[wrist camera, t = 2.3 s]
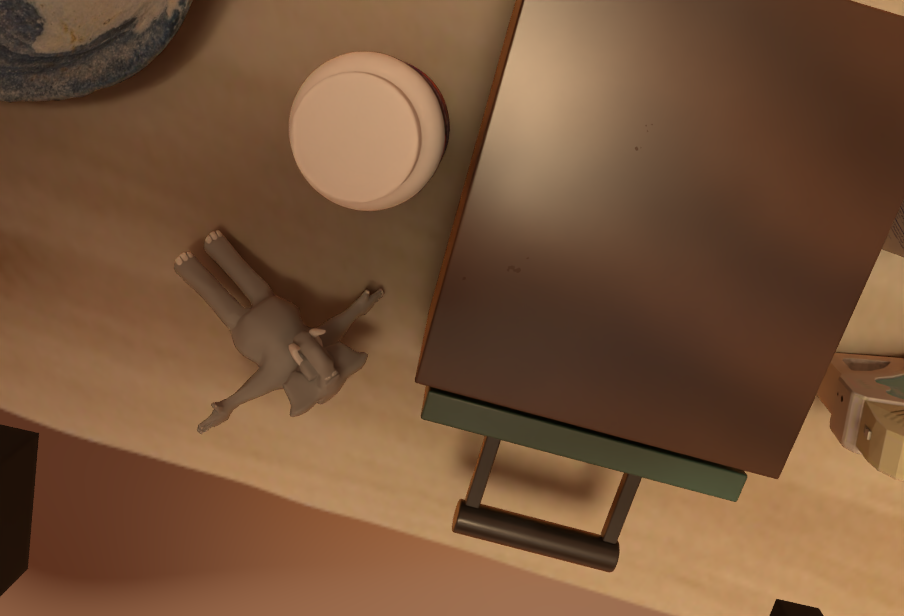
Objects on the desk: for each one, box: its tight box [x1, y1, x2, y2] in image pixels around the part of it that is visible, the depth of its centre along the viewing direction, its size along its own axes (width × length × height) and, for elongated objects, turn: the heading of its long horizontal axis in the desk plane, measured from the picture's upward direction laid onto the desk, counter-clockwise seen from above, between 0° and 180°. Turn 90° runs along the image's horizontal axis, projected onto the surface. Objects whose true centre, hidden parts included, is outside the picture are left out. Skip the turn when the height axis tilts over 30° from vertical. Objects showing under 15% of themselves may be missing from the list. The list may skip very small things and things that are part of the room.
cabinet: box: [415, 0, 904, 479], centre depth 29 cm, size 16×14×9 cm
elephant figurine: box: [174, 230, 384, 434], centre depth 32 cm, size 10×6×9 cm
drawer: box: [421, 386, 747, 572], centre depth 30 cm, size 20×12×7 cm, turn 165°
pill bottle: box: [289, 51, 450, 211], centre depth 28 cm, size 5×5×10 cm
